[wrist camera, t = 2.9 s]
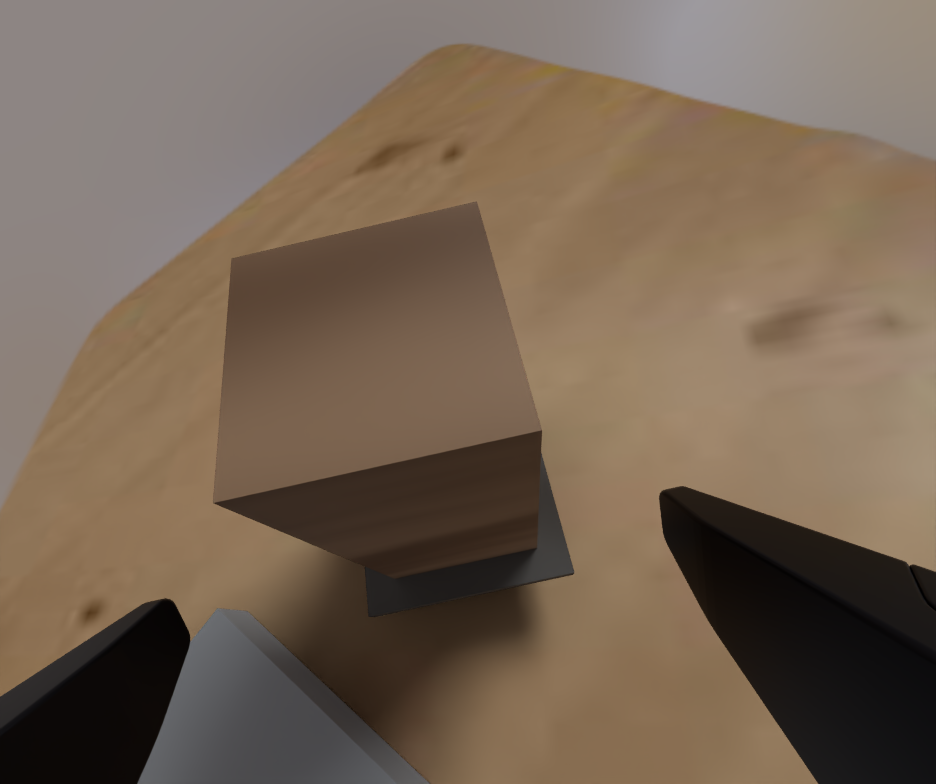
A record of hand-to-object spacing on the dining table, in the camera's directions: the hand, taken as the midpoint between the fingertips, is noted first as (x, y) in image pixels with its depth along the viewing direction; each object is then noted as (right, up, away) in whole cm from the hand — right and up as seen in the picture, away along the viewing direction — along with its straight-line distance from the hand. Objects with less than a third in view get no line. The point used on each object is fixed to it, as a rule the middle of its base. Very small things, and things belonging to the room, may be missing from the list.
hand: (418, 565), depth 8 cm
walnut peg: (+1, -2, +11) cm, 11 cm away
